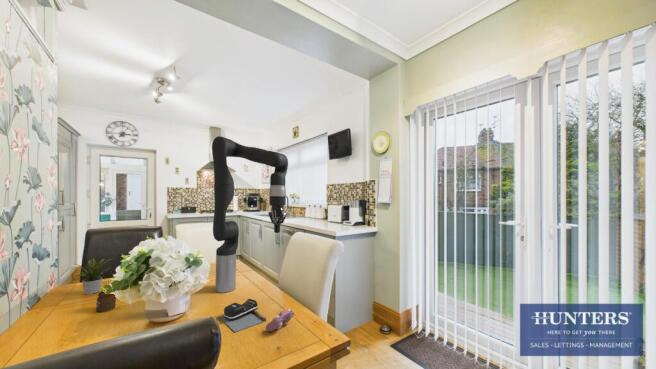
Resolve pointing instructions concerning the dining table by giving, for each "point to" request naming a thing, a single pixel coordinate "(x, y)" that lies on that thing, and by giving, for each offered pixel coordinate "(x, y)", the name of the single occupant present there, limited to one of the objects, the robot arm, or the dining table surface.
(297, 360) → the dining table surface
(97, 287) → the house plant
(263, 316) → the strip
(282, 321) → the purple lumpy piece
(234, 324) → the mat
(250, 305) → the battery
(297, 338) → the dining table surface
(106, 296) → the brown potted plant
